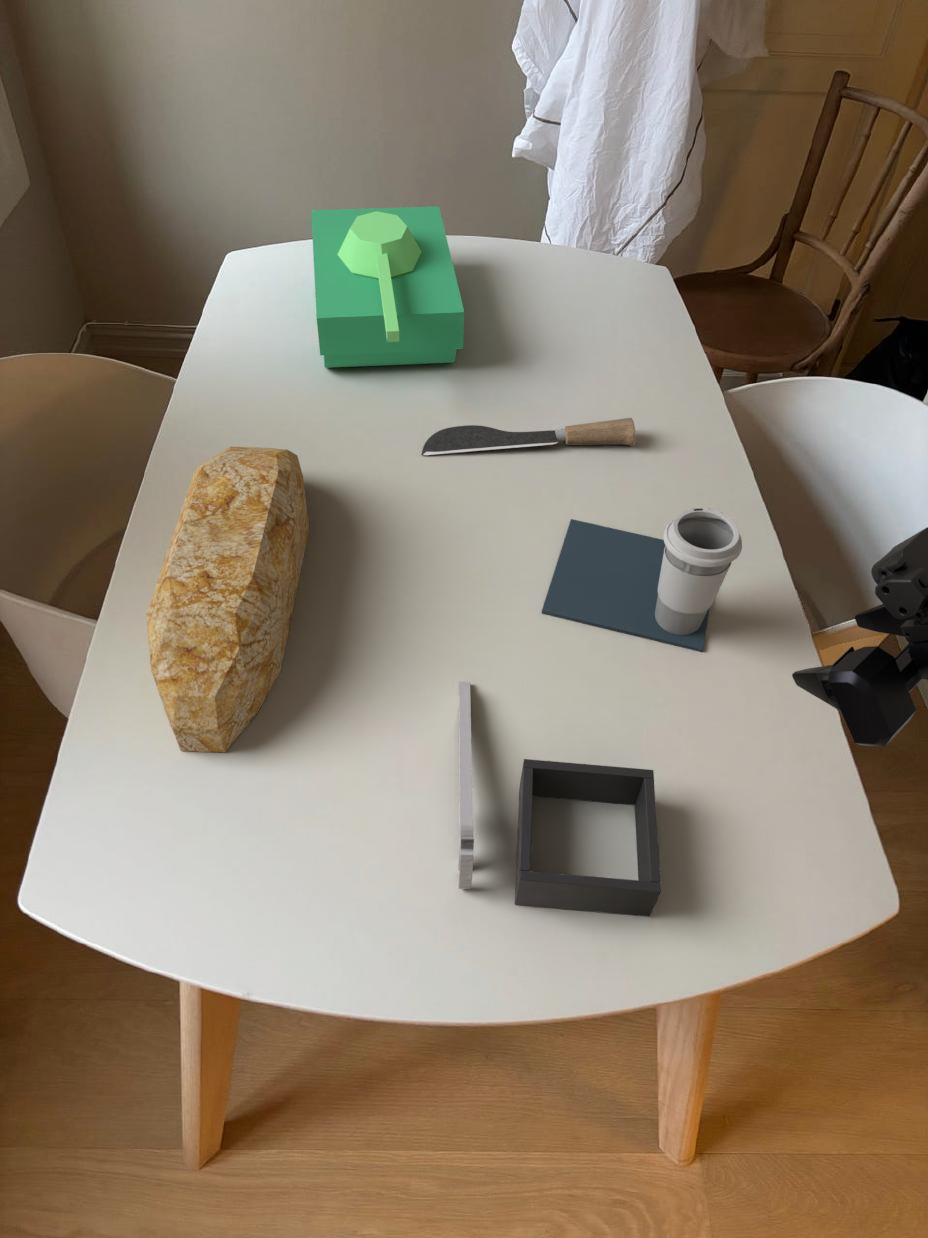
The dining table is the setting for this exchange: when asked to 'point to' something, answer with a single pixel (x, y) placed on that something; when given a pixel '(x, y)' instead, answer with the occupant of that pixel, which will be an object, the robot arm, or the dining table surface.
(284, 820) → the dining table surface
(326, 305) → the toy tank
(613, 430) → the hand tool
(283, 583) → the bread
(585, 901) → the holder
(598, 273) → the dining table surface
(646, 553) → the mat
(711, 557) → the cup
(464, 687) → the caliper
